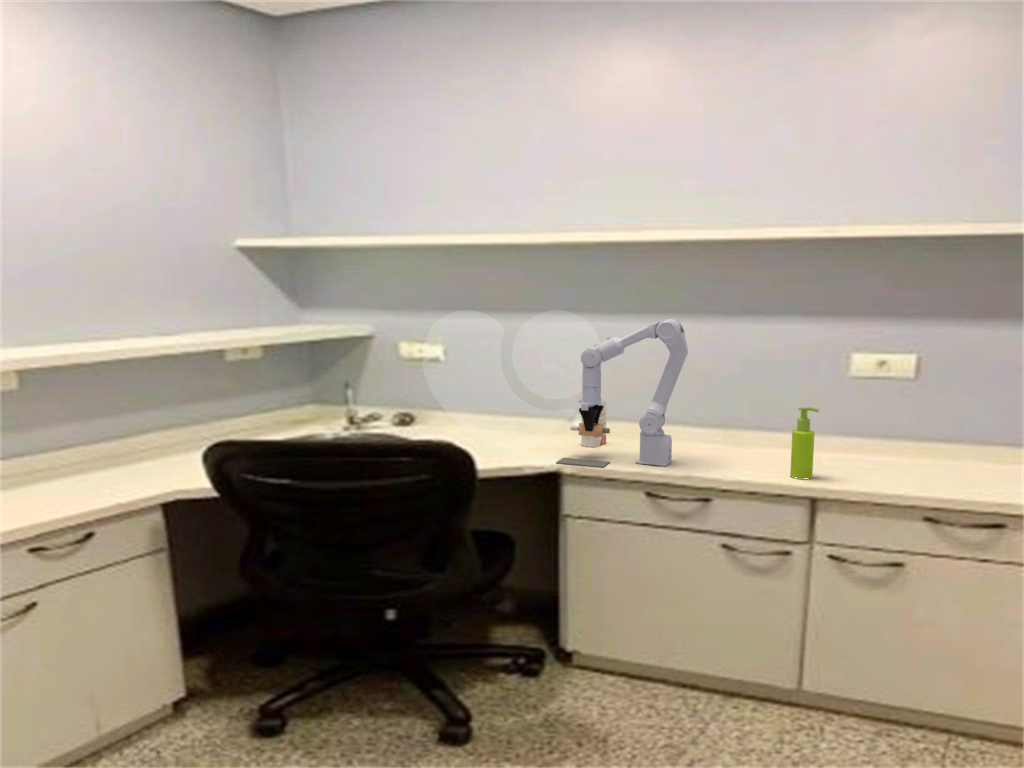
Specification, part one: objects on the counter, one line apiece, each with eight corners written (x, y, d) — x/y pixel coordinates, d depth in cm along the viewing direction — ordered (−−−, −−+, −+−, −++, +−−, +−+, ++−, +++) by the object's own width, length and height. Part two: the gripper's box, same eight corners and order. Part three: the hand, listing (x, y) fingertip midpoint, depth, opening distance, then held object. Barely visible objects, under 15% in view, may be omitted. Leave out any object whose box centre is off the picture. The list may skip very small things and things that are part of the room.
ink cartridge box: (593, 441, 285) (594, 399, 282) (606, 443, 282) (607, 400, 280) (580, 446, 278) (580, 402, 276) (593, 447, 275) (593, 404, 273)
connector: (610, 435, 259) (611, 424, 259) (607, 437, 255) (607, 426, 255) (573, 432, 264) (573, 421, 263) (569, 434, 260) (569, 423, 260)
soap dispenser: (813, 481, 231) (816, 410, 228) (788, 477, 235) (791, 408, 232) (818, 476, 236) (821, 407, 233) (793, 473, 240) (796, 405, 237)
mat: (610, 462, 253) (610, 461, 253) (603, 467, 247) (603, 466, 247) (563, 458, 259) (563, 457, 259) (555, 463, 253) (555, 462, 253)
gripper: (586, 383, 265) (586, 424, 267) (571, 389, 252) (571, 433, 254) (607, 384, 263) (607, 426, 265) (594, 390, 249) (593, 434, 251)
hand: (591, 429), depth 259 cm, fingers closed on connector, 4 cm apart
